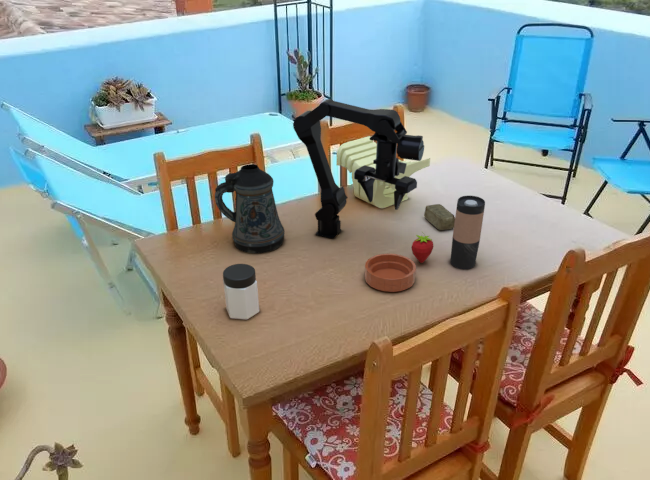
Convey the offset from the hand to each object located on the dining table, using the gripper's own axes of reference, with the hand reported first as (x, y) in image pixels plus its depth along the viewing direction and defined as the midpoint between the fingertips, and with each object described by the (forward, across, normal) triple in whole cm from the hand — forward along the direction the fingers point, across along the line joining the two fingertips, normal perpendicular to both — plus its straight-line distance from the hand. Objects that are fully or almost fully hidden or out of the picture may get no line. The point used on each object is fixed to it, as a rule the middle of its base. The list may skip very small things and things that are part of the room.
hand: (383, 205), depth 176 cm
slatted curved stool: (+13, +19, -28) cm, 36 cm away
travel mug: (+13, -26, -4) cm, 29 cm away
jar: (+13, +8, +53) cm, 55 cm away
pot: (+13, -14, +16) cm, 25 cm away
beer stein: (+13, +32, +24) cm, 42 cm away
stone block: (+13, -7, -23) cm, 28 cm away
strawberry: (+13, -16, +3) cm, 21 cm away
